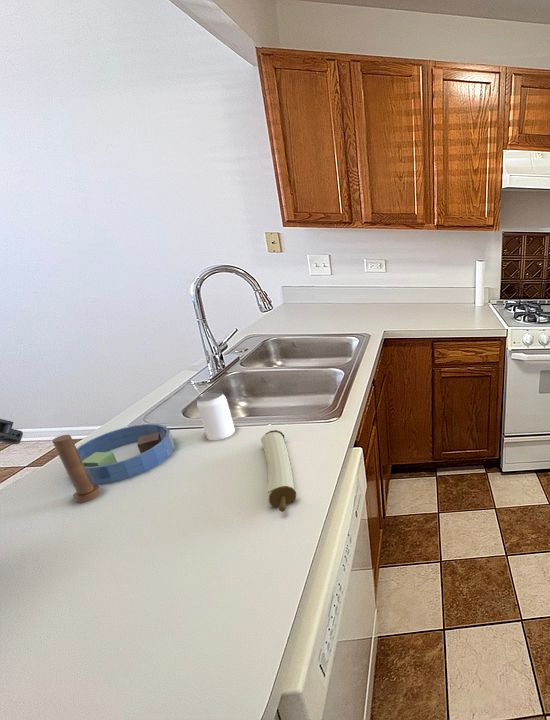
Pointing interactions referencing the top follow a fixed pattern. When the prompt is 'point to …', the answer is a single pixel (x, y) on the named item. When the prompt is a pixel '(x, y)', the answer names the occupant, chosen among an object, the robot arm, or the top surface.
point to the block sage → (99, 459)
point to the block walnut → (148, 441)
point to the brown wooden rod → (76, 469)
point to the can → (215, 415)
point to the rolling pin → (278, 470)
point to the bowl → (130, 465)
